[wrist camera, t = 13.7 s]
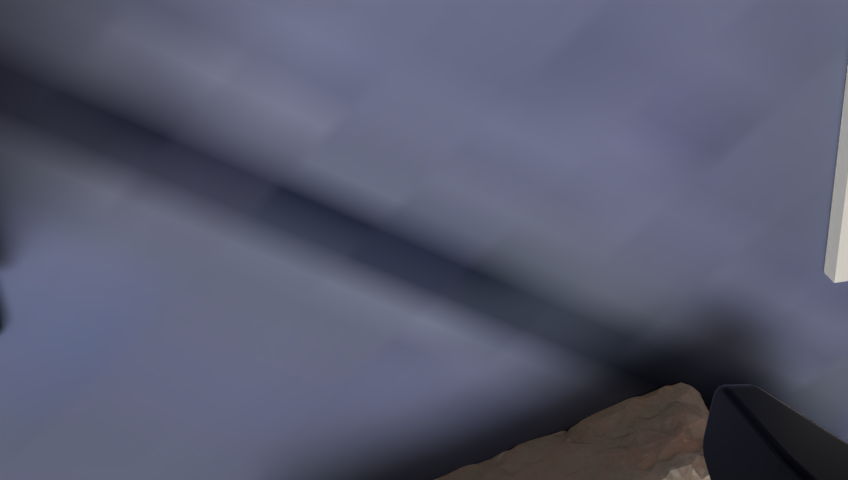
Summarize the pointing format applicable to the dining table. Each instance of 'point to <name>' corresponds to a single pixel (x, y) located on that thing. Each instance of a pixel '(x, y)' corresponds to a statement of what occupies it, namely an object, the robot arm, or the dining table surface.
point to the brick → (613, 444)
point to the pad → (839, 207)
